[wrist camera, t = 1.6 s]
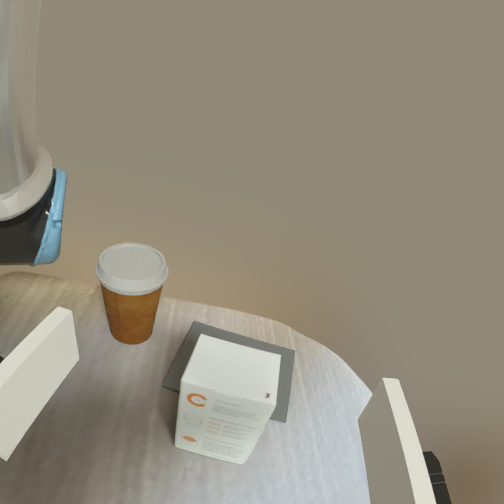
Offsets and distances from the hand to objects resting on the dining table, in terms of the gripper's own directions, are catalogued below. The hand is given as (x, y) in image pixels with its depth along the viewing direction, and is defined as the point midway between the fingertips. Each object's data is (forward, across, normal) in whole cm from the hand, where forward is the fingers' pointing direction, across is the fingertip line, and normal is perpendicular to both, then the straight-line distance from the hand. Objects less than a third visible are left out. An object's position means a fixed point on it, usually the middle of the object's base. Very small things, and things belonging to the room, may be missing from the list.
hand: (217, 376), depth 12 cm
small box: (+13, 0, -23) cm, 27 cm away
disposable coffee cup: (+26, -15, -21) cm, 37 cm away
